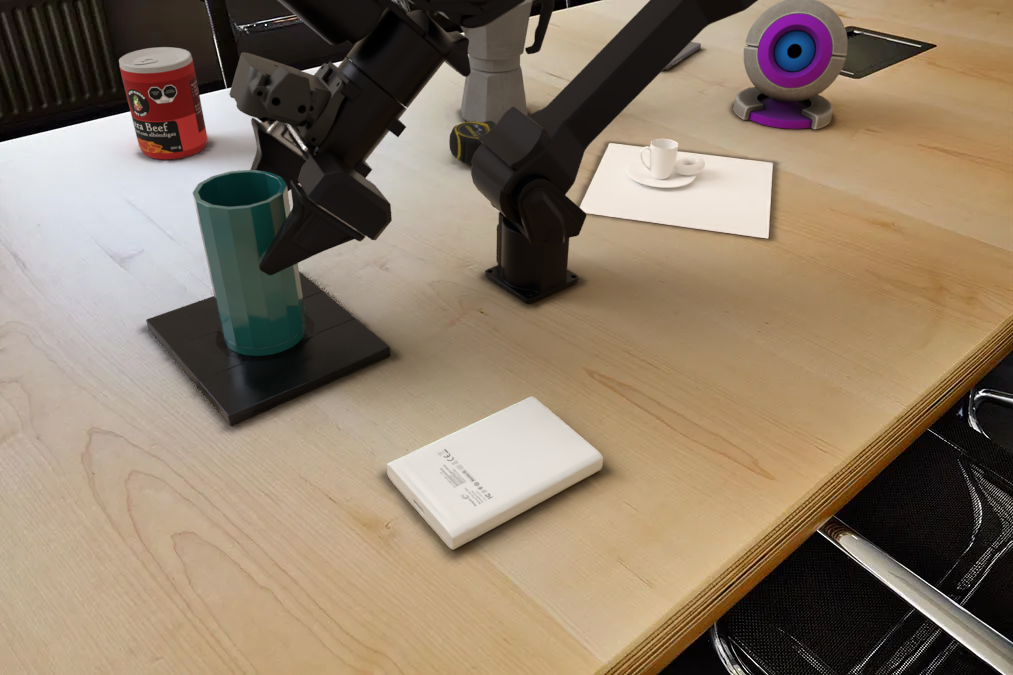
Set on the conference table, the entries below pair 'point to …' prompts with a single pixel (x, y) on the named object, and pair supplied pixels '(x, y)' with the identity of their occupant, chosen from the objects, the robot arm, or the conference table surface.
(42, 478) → the conference table surface
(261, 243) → the tumbler
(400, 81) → the robot arm
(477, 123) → the tape measure
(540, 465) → the hard drive
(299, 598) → the conference table surface
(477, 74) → the coffeepot
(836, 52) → the webcam
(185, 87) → the canned food
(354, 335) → the drain plate
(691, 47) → the smartphone
